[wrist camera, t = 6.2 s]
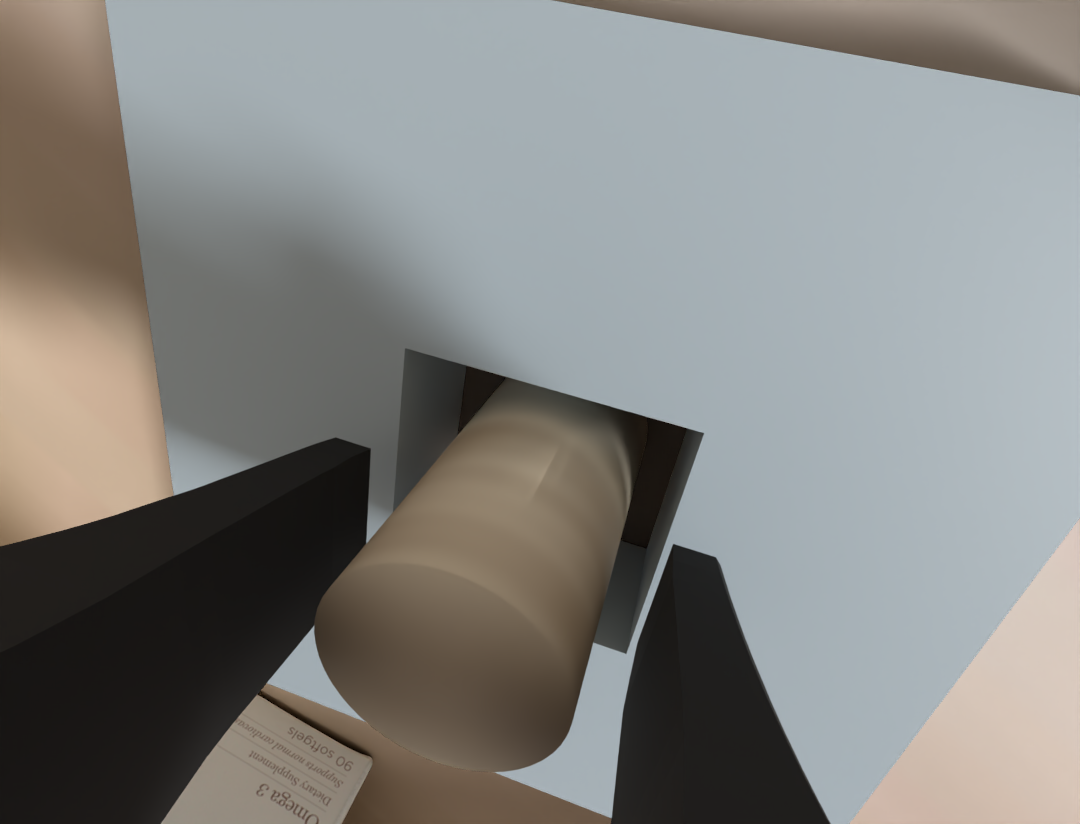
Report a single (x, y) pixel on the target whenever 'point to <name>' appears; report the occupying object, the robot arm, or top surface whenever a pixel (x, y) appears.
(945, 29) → the top surface
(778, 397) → the hole board
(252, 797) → the supplement box
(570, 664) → the long dowel
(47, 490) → the top surface
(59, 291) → the top surface
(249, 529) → the robot arm
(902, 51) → the top surface
